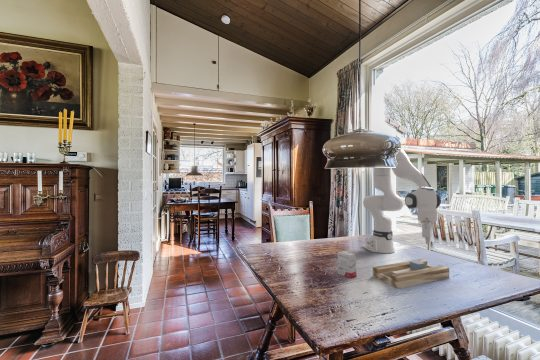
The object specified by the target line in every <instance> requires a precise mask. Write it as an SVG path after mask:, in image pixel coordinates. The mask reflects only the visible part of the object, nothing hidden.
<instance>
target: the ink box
mask: <svg viewBox="0 0 540 360" xmlns="http://www.w3.org/2000/svg"><path fill="white" fill-rule="evenodd" d="M336 254H337V272H338V275H340V274H341V275H340V276H344V277H346V278H349V279H353V278H355V277H357V263H356V262H357V259H356V254H355V253H353V252H352V253H351V252H349V251H346V250H345V251H344V250H341V251H338V252H337V253H336Z"/></svg>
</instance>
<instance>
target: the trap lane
mask: <svg viewBox="0 0 540 360" xmlns="http://www.w3.org/2000/svg"><path fill="white" fill-rule="evenodd" d="M416 260H417V261H420V262H423V263H425V265H426V268H425V269H420V270H415V271H414V270H411V269H410V261H416ZM372 277H373V278H375V279H377V280H379V281H381V282H383V283H385V284H387V285H390V286H391V287H393V288H396V289H403V288H404V289H405V288H408V287H412V286H418V285H422V284H426V283H430V282H436V281H441V280H445V279H450V268H449V267H447V266H445V265H437V266H433V265H430V264H428V261H427V260H425V259H422V258H417V259H411V260H406V261H400V262H395V263H389V264H382V265H378V266H373V267H372Z"/></svg>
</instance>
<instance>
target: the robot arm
mask: <svg viewBox="0 0 540 360" xmlns="http://www.w3.org/2000/svg"><path fill="white" fill-rule="evenodd" d="M400 149H401V150H400V151H399V153H398V154H397V155H396V160H397V163H398V166H397V167H396V168H374V167H373V186H374V188H375V189H376V190H378V191H380V192H382V193H383V195H379V194H378V195H376V194H375V195H374V194H372V195H368V196H367V195H366V196H365V197H364V199H363V200H362V203H363V205H362V206H363V207H364V208H365V210H366V211H368V212H369V213H370V214H371V216H372V219H373V223H374V229H373V230H371V232H372V235H371V236H369V237H368V238H367V239H366V241H365V244H363V245H362V248H364V249H366V250H368V251H370V252H372V253H380V254H392V253H395V252H396V251H395V247H394V241H393V230H392V229H393V226H392V225H393V224H392V219H391V218H390V217H388V216H387V215H384V214H383V212H396V211H398V212H399V211H400V210H402V209H403V207H404V204H405V206H406V207H407V208H408V209H410V210H417V220H418V221H420V224H421V236H422V238H424V239H425V244H427V245H429V244H430V243H431V237H432V234H433V231H434V225H435V222H437V221H438V210H437V209H438V208H439V207H440V205H441V203H442V199H441V196H440V194H438V193H437V192H436V189H435V187H432V186H431V184H430V183H429V181H428V179H426V177H425V175H424V174H423V173H422V172H421V171H420V170H419V169H418V168H416V167H415V166H414V165H413V164H412V162H411V161H410V158H409V156H408V155H407V153H406V152H405V151H404V150H403V149H402V148H400ZM391 170H392V172H393V174H394V175H395V176H396V177H397V178H400V179H403V180H407V181H411V182H412V183H414V184H415V185H416V186H417V187H418V188H417V189H416V190H415V191H412V192H409V193H407V194H406V195H405V198H404V200H403V199H402V197H400V196H399V195H398V194H397V193H396V192H395V191H394V189H393V186H392V179H391V177H392V176H391V175H392V174H391Z"/></svg>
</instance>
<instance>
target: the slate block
mask: <svg viewBox="0 0 540 360" xmlns="http://www.w3.org/2000/svg"><path fill="white" fill-rule="evenodd" d="M415 260H416V261H411V260H409V261H410V269H411V270H414V271H415V270H420V269H425V268H426V265H425V263H423V262H420V261H417V259H415Z"/></svg>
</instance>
